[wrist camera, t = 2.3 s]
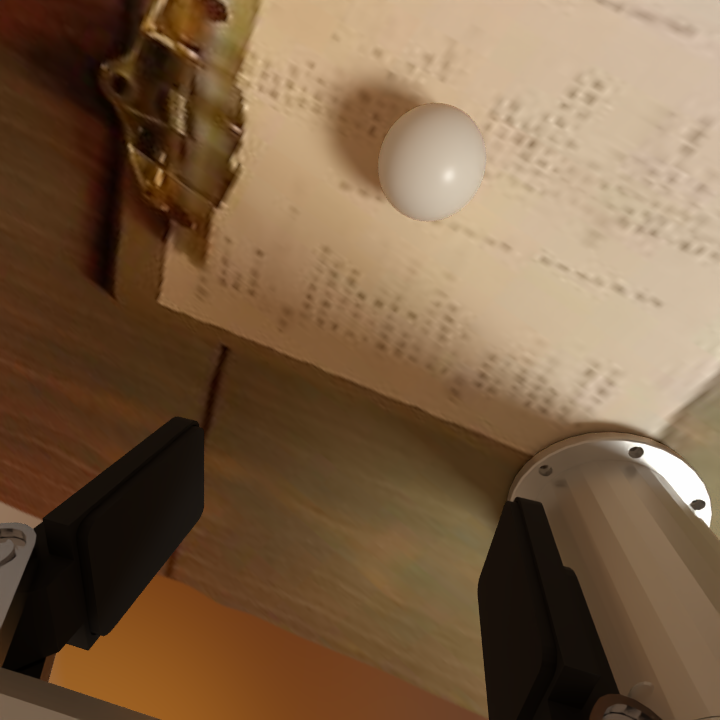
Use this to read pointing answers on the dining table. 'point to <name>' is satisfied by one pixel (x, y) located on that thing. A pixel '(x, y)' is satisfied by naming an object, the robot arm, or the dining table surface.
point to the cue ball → (432, 162)
